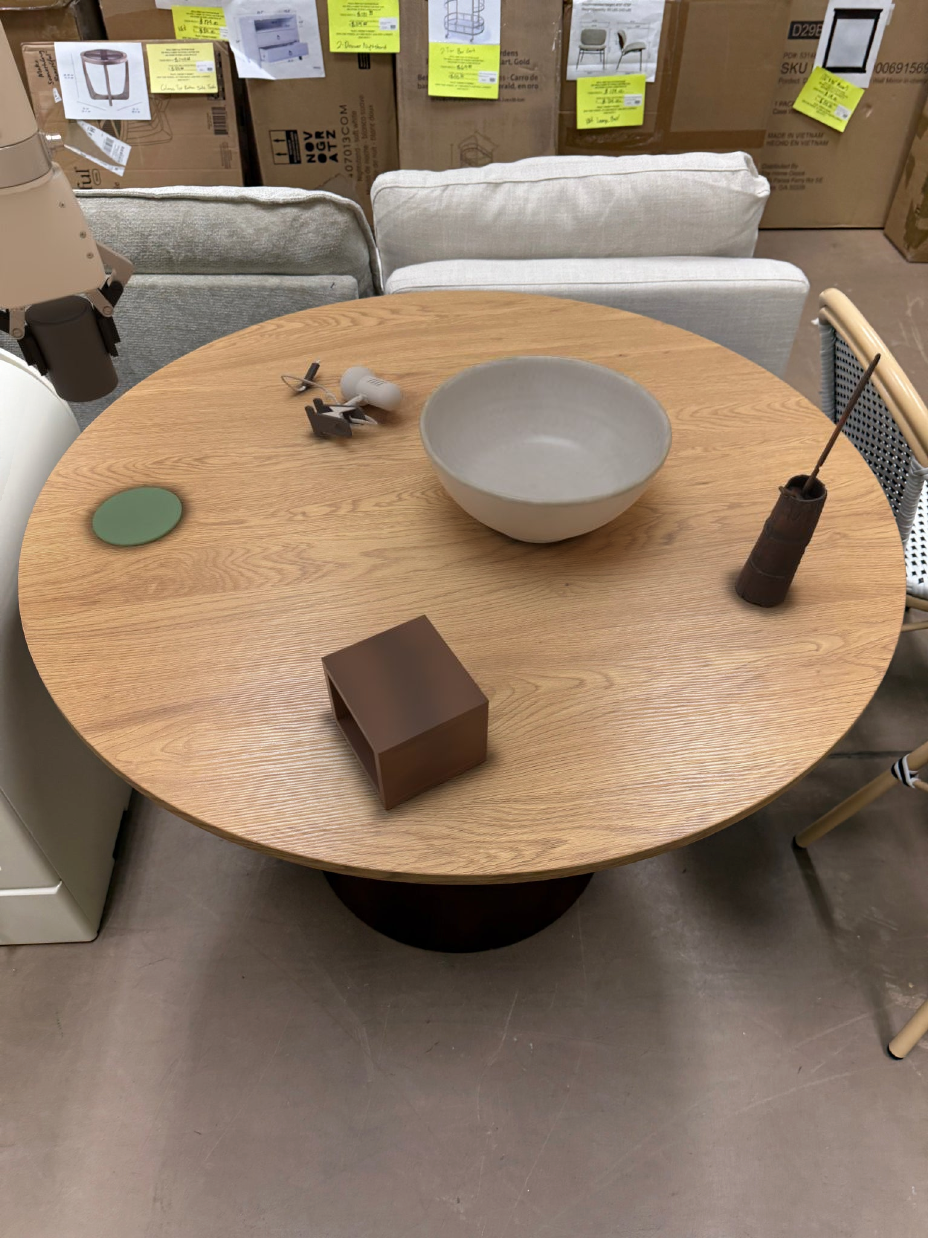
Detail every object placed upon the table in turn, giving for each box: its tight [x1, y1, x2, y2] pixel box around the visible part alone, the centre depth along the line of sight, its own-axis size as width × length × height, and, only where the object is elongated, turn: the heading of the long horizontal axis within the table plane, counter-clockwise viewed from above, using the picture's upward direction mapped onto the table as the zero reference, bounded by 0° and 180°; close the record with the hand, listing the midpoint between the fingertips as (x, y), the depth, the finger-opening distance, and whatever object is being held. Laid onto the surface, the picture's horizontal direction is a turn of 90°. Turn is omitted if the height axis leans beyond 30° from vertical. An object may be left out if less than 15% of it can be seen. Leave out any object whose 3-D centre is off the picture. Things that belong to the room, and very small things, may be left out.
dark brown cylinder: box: [25, 295, 119, 403], centre depth 79 cm, size 6×6×8 cm
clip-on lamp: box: [279, 359, 403, 439], centre depth 107 cm, size 12×6×18 cm
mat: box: [91, 486, 183, 547], centre depth 94 cm, size 10×10×1 cm
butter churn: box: [734, 352, 882, 608], centre depth 76 cm, size 9×10×28 cm
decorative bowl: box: [418, 354, 673, 544], centre depth 91 cm, size 27×27×12 cm
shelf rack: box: [320, 613, 490, 811], centre depth 71 cm, size 10×11×9 cm
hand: (76, 357), depth 79 cm, fingers closed on dark brown cylinder, 6 cm apart
